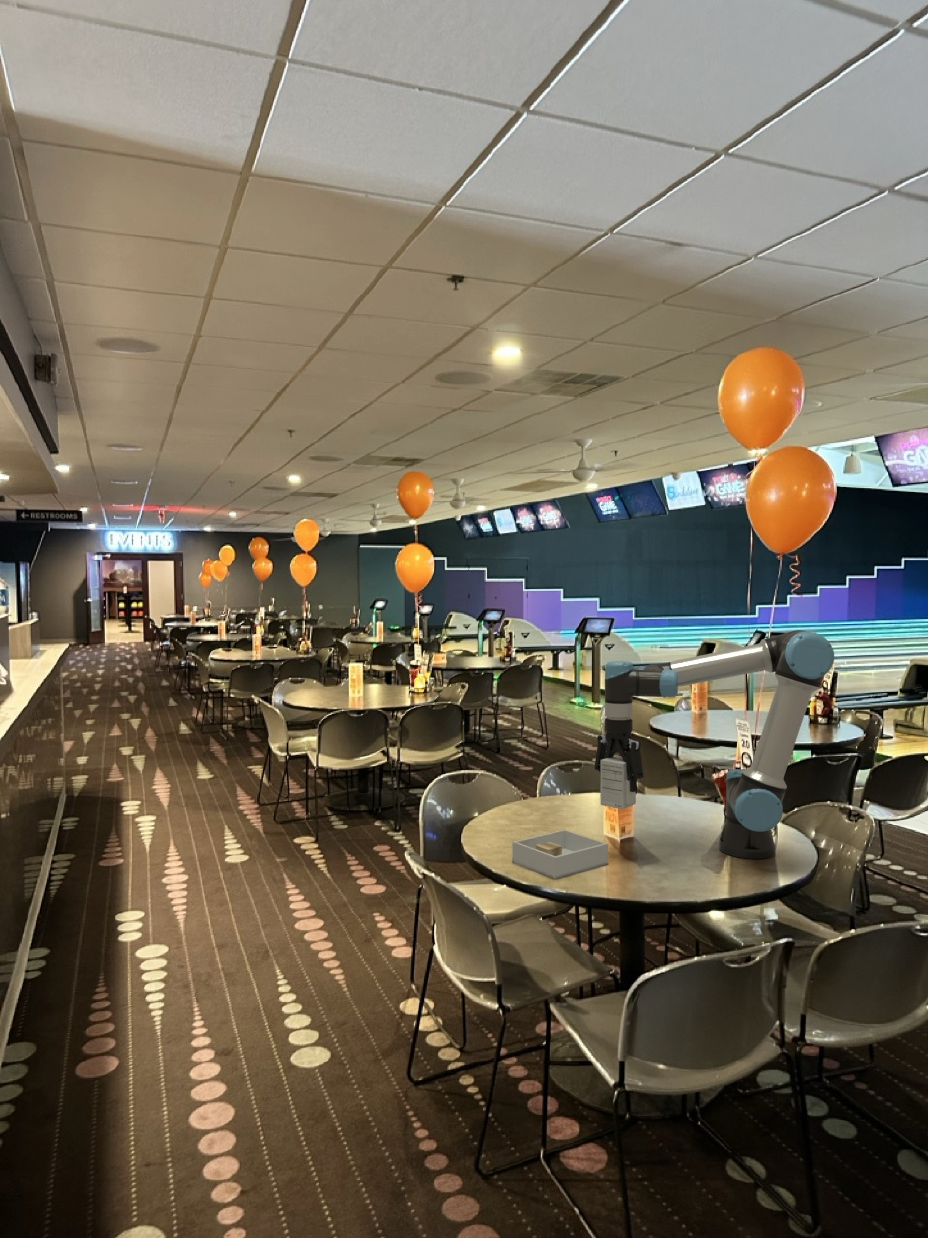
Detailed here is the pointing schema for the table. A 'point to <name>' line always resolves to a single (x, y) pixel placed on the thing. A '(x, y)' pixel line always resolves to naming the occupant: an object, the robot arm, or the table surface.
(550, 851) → the maple block
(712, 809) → the table surface
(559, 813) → the table surface
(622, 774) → the supplement box
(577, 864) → the tote
